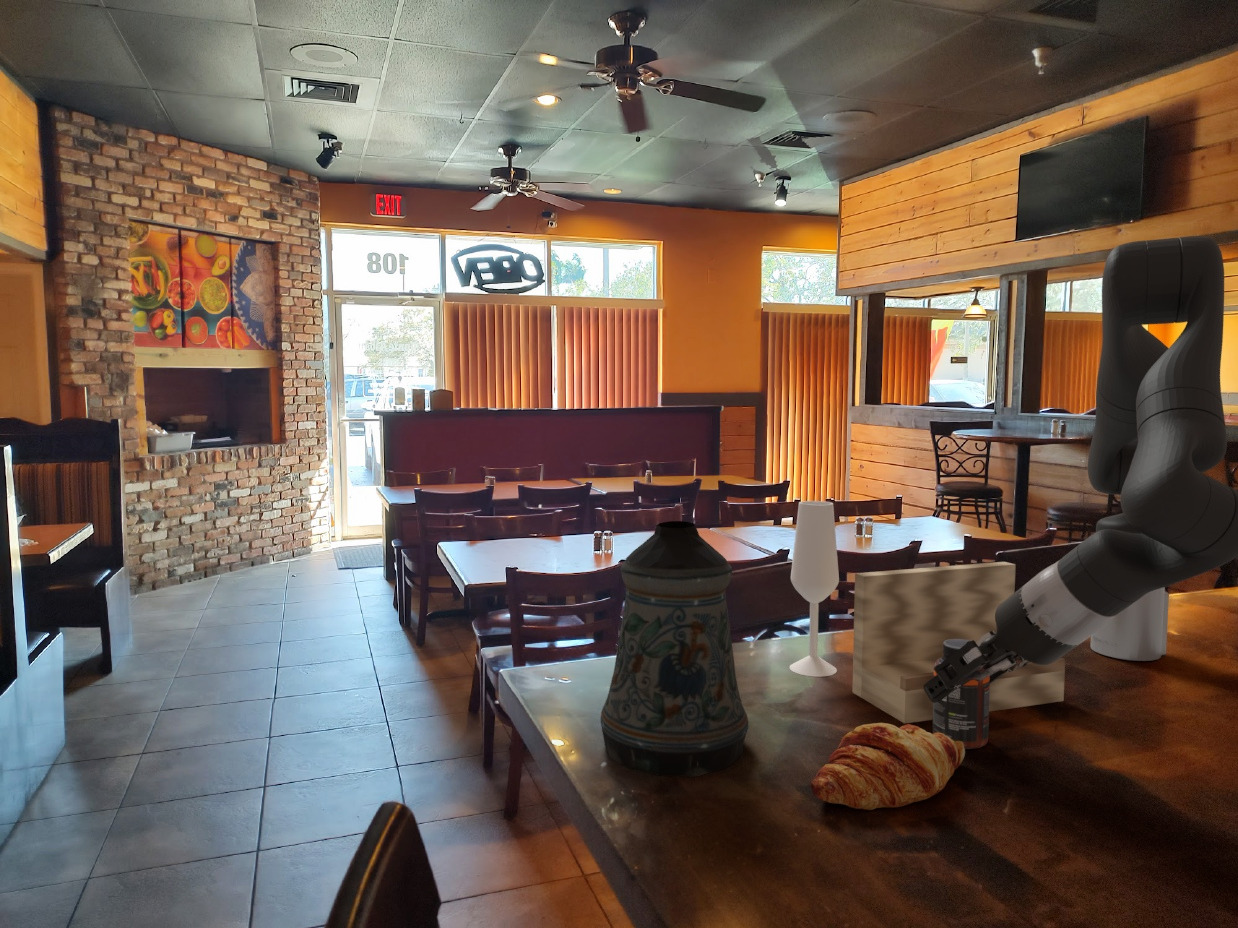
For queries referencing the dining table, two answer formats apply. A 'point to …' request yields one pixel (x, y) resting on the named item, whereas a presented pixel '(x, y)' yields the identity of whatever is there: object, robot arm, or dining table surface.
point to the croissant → (887, 767)
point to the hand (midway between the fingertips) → (953, 687)
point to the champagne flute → (814, 573)
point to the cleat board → (935, 636)
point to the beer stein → (675, 661)
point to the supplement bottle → (963, 707)
